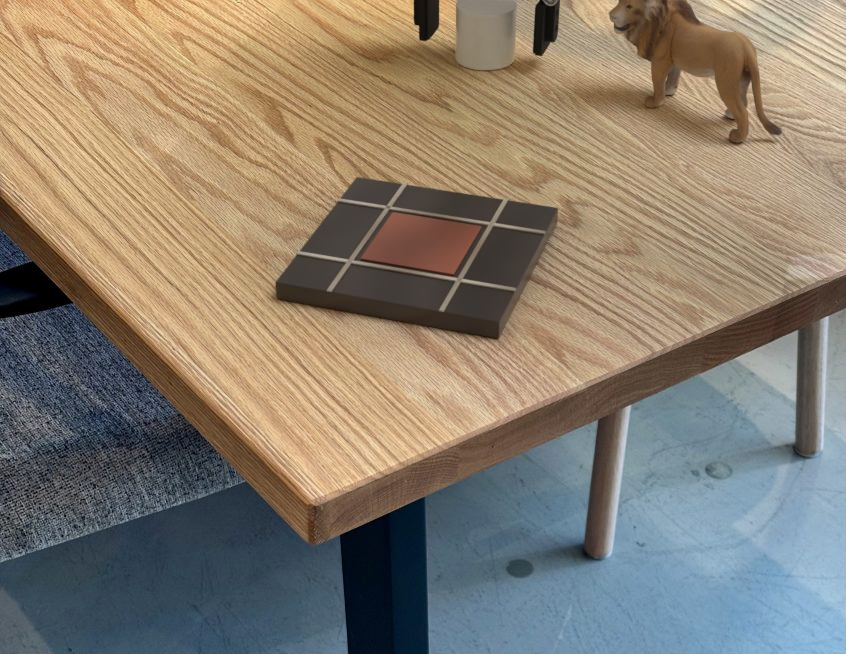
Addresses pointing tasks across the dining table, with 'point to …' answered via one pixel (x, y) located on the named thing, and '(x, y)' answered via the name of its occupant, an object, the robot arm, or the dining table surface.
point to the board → (421, 256)
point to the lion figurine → (692, 56)
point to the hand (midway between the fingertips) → (485, 41)
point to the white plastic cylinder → (485, 33)
